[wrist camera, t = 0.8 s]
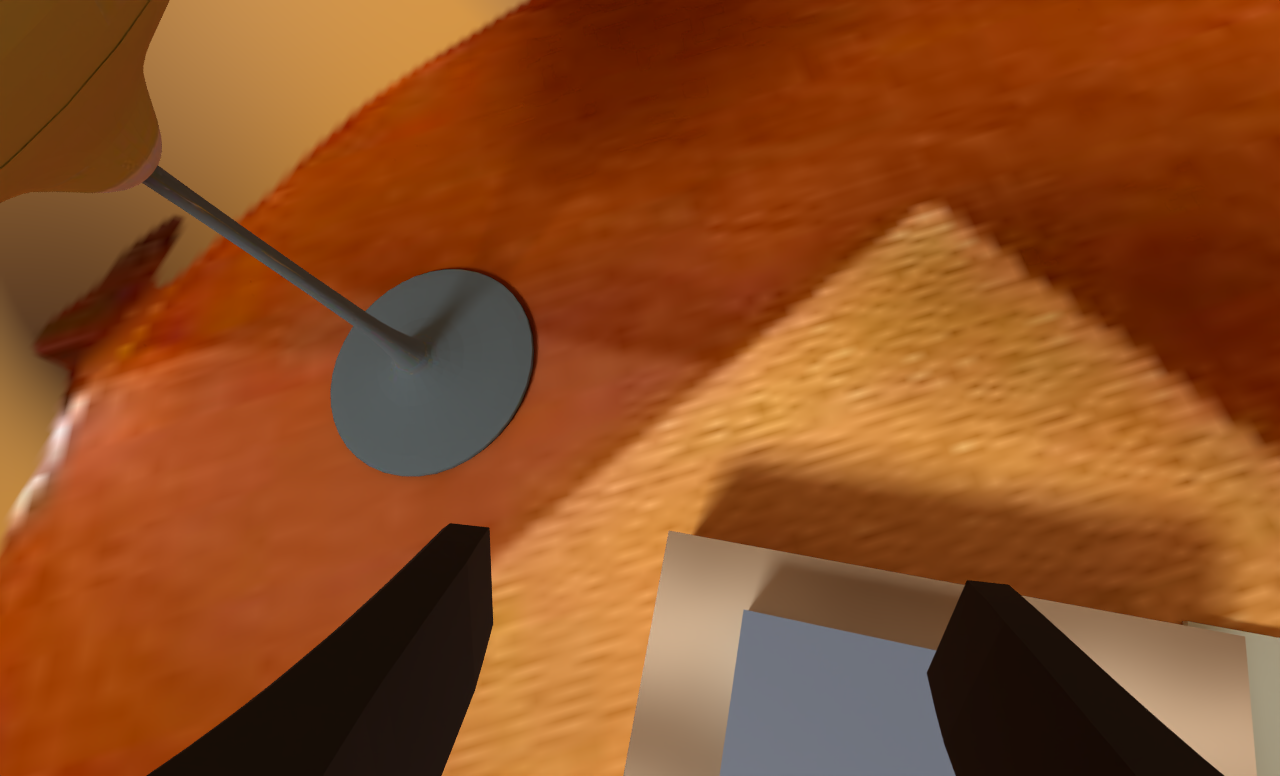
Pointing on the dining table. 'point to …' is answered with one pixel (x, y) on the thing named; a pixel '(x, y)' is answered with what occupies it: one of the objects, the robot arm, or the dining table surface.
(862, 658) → the blue-grey rectangular block
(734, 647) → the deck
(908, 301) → the dining table surface
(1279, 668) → the mat
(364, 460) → the cocktail glass
